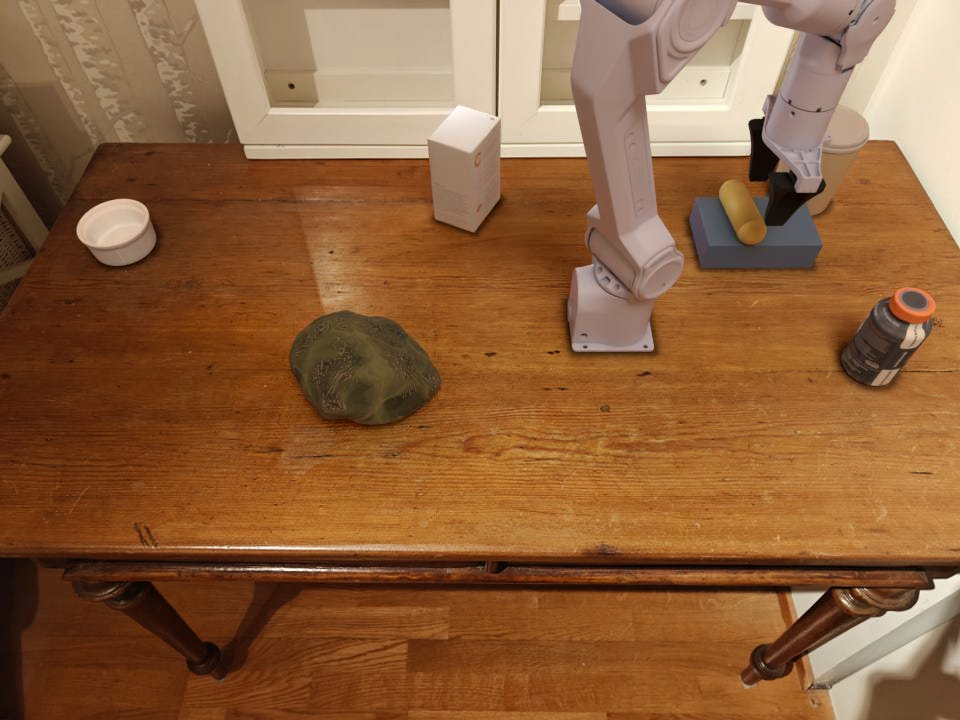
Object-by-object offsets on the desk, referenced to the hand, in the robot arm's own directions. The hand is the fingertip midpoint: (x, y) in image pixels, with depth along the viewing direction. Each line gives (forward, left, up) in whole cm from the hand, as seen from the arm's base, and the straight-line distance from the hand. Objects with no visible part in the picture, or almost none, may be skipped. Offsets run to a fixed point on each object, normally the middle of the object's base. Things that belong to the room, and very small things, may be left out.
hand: (765, 201), depth 81 cm
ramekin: (-80, +4, -11) cm, 81 cm away
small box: (-35, +11, -11) cm, 38 cm away
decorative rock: (-46, -18, -11) cm, 51 cm away
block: (+2, +4, -10) cm, 11 cm away
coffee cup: (+11, +13, -11) cm, 20 cm away
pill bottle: (+11, -16, -11) cm, 22 cm away
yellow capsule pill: (-1, +4, -5) cm, 6 cm away
